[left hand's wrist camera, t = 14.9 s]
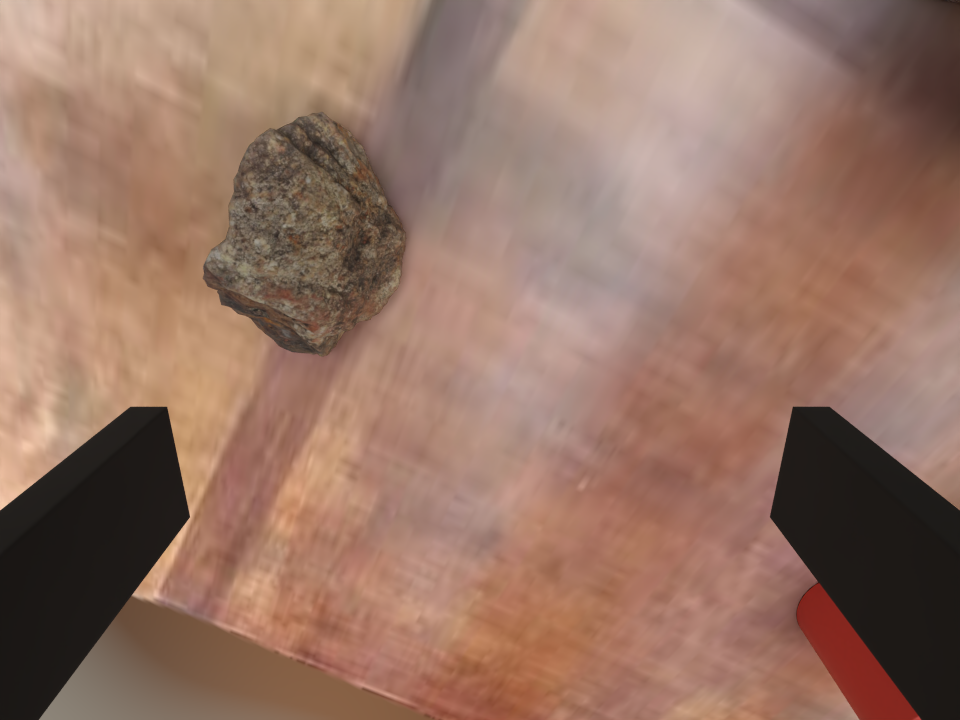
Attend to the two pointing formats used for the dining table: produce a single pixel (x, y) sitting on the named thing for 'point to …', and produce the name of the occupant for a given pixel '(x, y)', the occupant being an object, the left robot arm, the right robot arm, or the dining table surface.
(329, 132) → the rock
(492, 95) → the dining table surface
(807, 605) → the can
